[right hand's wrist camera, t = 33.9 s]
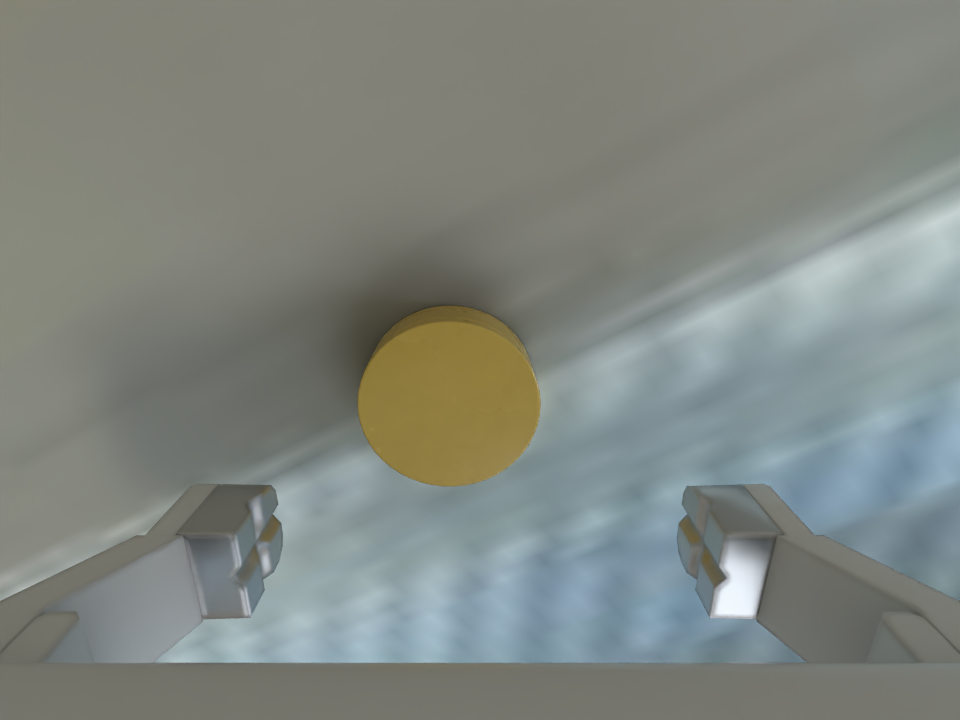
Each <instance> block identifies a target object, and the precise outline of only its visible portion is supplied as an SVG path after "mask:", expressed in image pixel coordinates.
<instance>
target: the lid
mask: <svg viewBox="0 0 960 720" xmlns="http://www.w3.org/2000/svg"><path fill="white" fill-rule="evenodd" d="M357 404H358V415H359V420H360V424H361V427H362V430H363V432H364V435H365V437H366V438H367V440H368V442H369V444H370V445H371V447H372V448H373V450H374V451H375V452H376V453H377V455H378V456H379V457H380V458H381V459H382V460H383V461H384V462H385V463H387V464H388V465H389V466H390V467H391V468H393V469H394V470H396V471H397V472H399V473H401V474H403V475H405V476H407V477H409V478H411V479H413V480H416V481H419V482H422V483H426V484H431V485H438V486H462V485H468V484H473V483H477V482H480V481H483V480H486V479H488V478H490V477H492V476H495V475H497V474H498V473H500V472H501V471H503V470H505V469H506V468H507V467H509V466H510V465H511V464H512V463H514V462H515V461H516V460H517V459H518V458H519V457H520V455H521V454H522V453H523V452H524V450H525V449H526V448H527V446H528V445H529V443H530V441H531V439H532V438H533V436H534V433H535V431H536V428H537V425H538V421H539V416H540V406H541V403H540V392H539V387H538V383H537V380H536V377H535V374H534V370H533V367H532V364H531V362H530V359H529V356H528V353H527V351H526V350H525V348H524V346H523V344H522V343H521V341H520V340H519V339H518V337H517V336H516V335H515V334H514V333H513V332H512V331H511V330H510V329H509V328H508V327H507V326H506V325H505V324H503V323H502V322H501V321H499V320H498V319H496V318H494V317H493V316H491V315H489V314H487V313H484V312H482V311H479V310H476V309H472V308H469V307H462V306H437V307H431V308H427V309H423V310H421V311H418V312H415V313H413V314H411V315H409V316H407V317H405V318H403V319H402V320H401V321H399V322H398V323H396V324H395V325H394V326H393V327H392V328H391V329H390V330H388V331H387V332H386V334H385V335H384V336H383V337H382V339H381V340H380V341H379V343H378V345H377V346H376V348H375V350H374V352H373V354H372V356H371V358H370V360H369V362H368V365H367V367H366V369H365V371H364V374H363V376H362V378H361V382H360V386H359V390H358V400H357Z"/></svg>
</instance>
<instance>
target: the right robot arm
mask: <svg viewBox="0 0 960 720" xmlns="http://www.w3.org/2000/svg"><path fill="white" fill-rule="evenodd" d="M277 505H278V500H277V495H276V490H275V489H274V488H273V487H272V486H271V485H233V484H222V485H220V484H196V485H193V486H190V487H189V488H188V489H187V490H186V492H185V493H184V494H183V495H182V496H181V497H180V498H179V499H178V500H177V501H176V502H175V504H174V505H173V506H172V507H171V508H170V509H169V510H168V511H167V512H166V513H165V514H164V515H163V517H162V518H161V519H160V520H159V521H158V522H157V523H156V524H155V525H154V526H153V527H152V529H151V530H150V531H149V532H148V533H147V534H146V535H137V536H134V537H132V538H130V539H128V540H126V541H124V542H122V543H120V544H118V545H116V546H114V547H112V548H110V549H108V550H105V551H103V552H101V553H99V554H97V555H95V556H93V557H91V558H89V559H87V560H85V561H83V562H81V563H78V564H76V565H74V566H72V567H70V568H68V569H66V570H64V571H62V572H60V573H58V574H56V575H54V576H51V577H49V578H47V579H45V580H43V581H41V582H39V583H37V584H35V585H33V586H31V587H29V588H27V589H25V590H22V591H20V592H18V593H16V594H14V595H12V596H10V597H8V598H6V599H4V600H2V601H0V720H960V601H958V600H956V599H954V598H952V597H950V596H948V595H946V594H943V593H941V592H939V591H937V590H935V589H933V588H931V587H929V586H927V585H925V584H923V583H921V582H919V581H917V580H914V579H912V578H910V577H908V576H906V575H904V574H902V573H900V572H898V571H896V570H894V569H892V568H890V567H888V566H886V565H883V564H881V563H879V562H877V561H875V560H873V559H871V558H869V557H867V556H865V555H863V554H861V553H859V552H857V551H855V550H852V549H850V548H848V547H846V546H844V545H842V544H840V543H838V542H836V541H834V540H832V539H830V538H828V537H826V536H823V535H814V534H813V533H812V532H811V531H810V530H809V529H808V527H807V526H806V525H805V524H804V523H803V522H802V521H801V520H800V519H799V518H798V517H797V515H796V514H795V513H794V512H793V511H792V510H791V509H790V508H789V507H788V506H787V505H786V503H785V502H784V501H783V500H782V499H781V498H780V497H779V496H778V495H777V494H776V493H775V492H774V490H773V489H772V488H771V487H770V486H767V485H765V484H743V485H714V486H687V487H686V489H685V491H684V494H683V500H682V505H683V507H684V509H685V511H686V512H687V515H686V516H685V517H684V518H683V519H682V520H681V521H680V522H679V526H678V534H677V542H678V552H679V556H680V559H681V562H682V564H683V566H684V569H685V571H686V572H687V573H688V574H690V575H691V576H692V577H694V578H695V579H697V583H696V589H695V590H696V592H697V594H698V596H699V598H700V600H701V602H702V604H703V606H704V608H705V609H706V611H707V613H708V615H709V617H710V618H733V619H758V620H757V622H759V623H760V624H761V625H762V626H763V627H765V628H766V629H767V630H768V631H769V632H771V633H772V634H773V635H774V636H776V637H777V638H778V639H779V640H780V641H782V642H783V643H784V644H785V645H786V646H788V647H789V648H790V649H791V650H793V651H794V652H795V653H796V654H797V655H799V656H800V657H801V658H802V659H803V660H805V661H806V662H807V663H153V662H154V661H156V660H157V659H158V658H159V657H160V656H162V655H163V654H164V653H165V652H166V651H168V650H169V649H170V648H171V647H173V646H174V645H175V644H176V643H177V642H179V641H180V640H181V639H182V638H183V637H185V636H186V635H187V634H188V633H190V632H191V631H192V630H193V629H194V628H196V627H197V626H198V625H199V624H201V623H202V622H203V620H202V619H226V618H250V617H251V615H252V613H253V612H254V610H255V608H256V606H257V604H258V602H259V600H260V598H261V596H262V594H263V592H264V590H265V589H264V583H263V579H265V578H266V577H268V576H269V575H270V574H272V573H273V572H274V571H275V568H276V566H277V564H278V562H279V559H280V555H281V550H282V546H283V532H282V525H281V522H280V521H279V520H278V519H277V518H276V517H275V516H274V515H273V512H274V511H275V509H276V507H277Z"/></svg>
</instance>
